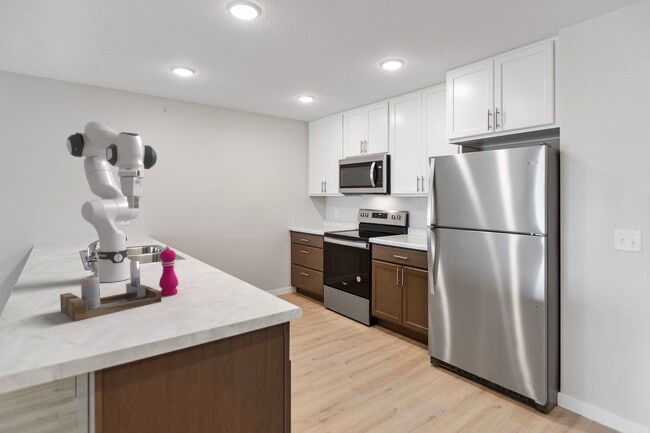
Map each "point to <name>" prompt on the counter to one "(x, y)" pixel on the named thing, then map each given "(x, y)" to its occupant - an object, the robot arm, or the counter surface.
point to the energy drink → (90, 292)
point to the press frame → (77, 309)
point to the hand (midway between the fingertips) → (133, 208)
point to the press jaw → (135, 283)
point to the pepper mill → (168, 273)
